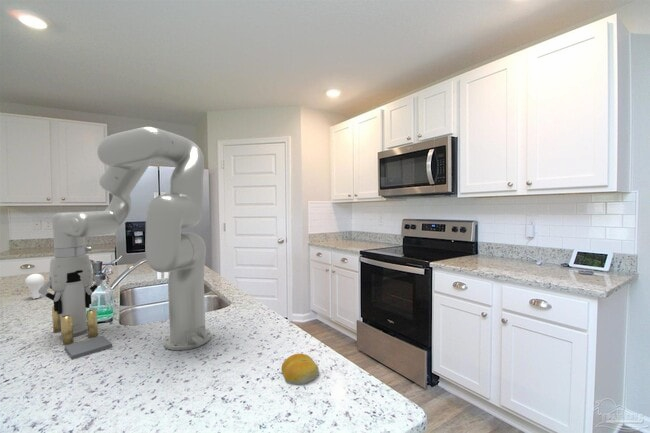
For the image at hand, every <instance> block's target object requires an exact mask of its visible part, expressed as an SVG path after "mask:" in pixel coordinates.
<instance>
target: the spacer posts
mask: <svg viewBox="0 0 650 433" xmlns="http://www.w3.org/2000/svg"><path fill="white" fill-rule="evenodd" d="M51 314H52V315H51V316H52V333H54V334H55V333H61V323H62V336H61V340H62V346H66V345H69V344H73V343H74V337H73V326H72V315H65V316H62V317H60V314H58V313H57V311H56V312H55V311H54V305H53V306H52V307H51ZM86 319H87V338H88V339H91V338H94V337H98V336H99V329H98V310H97V309H95V308H94V309H89V310H86Z"/></svg>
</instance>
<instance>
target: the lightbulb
mask: <svg viewBox="0 0 650 433" xmlns="http://www.w3.org/2000/svg"><path fill="white" fill-rule="evenodd" d="M24 283H25V285H26V287H27V288H28V290H29V292H30V294H31V298H32V299H33V300H36V299H35V298H38V299H39V298H41V293H39V292H38V290H39V289H40V288H41V287H42V286H44V283H45V277H44V276H43V274H41V273H32V274H29V275H28V276H27V277H25V280H24Z"/></svg>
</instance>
